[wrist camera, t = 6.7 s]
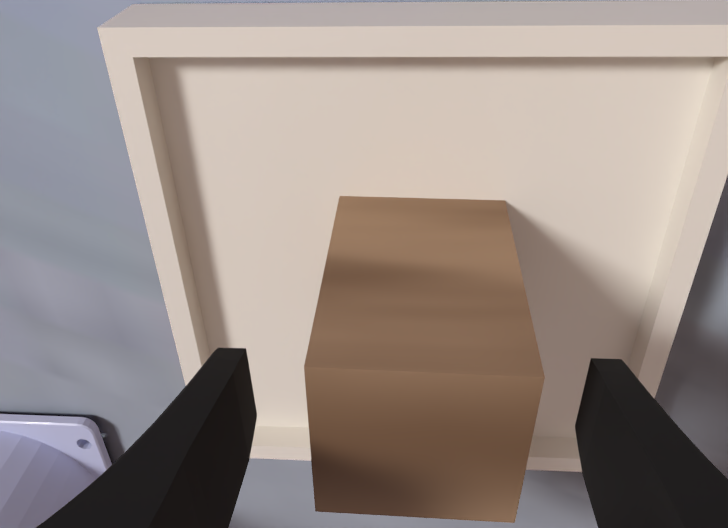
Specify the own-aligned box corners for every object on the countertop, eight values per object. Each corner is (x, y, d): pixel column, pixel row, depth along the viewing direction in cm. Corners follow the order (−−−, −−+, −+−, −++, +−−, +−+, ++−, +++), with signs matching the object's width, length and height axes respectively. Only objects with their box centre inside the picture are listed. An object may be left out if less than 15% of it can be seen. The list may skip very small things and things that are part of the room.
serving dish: (613, 423, 21) (630, 474, 20) (218, 408, 22) (202, 455, 21) (734, -1, 14) (776, 24, 12) (133, 3, 15) (97, 27, 13)
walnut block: (488, 328, 18) (514, 522, 13) (343, 322, 18) (315, 511, 13) (505, 200, 16) (544, 377, 11) (339, 196, 16) (304, 367, 11)
